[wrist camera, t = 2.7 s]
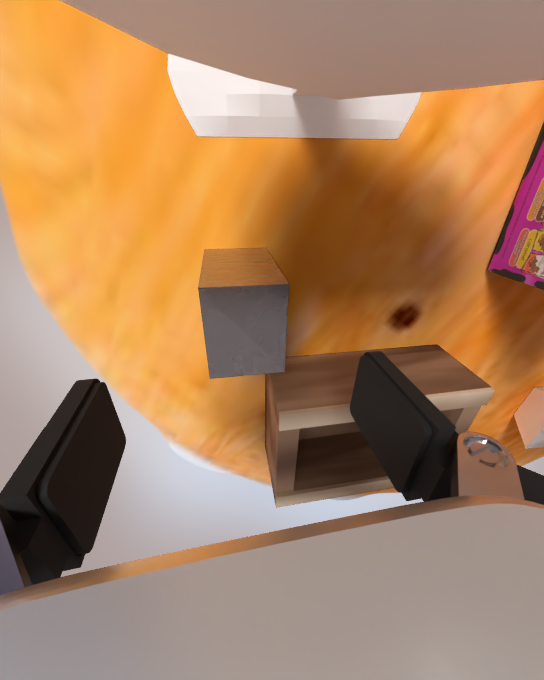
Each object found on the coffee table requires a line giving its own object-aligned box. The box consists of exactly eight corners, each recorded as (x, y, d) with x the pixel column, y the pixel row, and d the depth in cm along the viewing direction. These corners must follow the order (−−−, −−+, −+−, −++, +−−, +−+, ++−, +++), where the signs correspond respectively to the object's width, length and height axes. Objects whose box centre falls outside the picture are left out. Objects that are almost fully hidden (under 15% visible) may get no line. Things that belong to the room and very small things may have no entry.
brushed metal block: (204, 249, 18) (198, 287, 12) (265, 247, 18) (289, 283, 12) (211, 318, 20) (210, 378, 14) (265, 315, 21) (284, 371, 15)
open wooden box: (265, 358, 23) (280, 415, 18) (437, 344, 25) (495, 390, 20) (265, 445, 29) (276, 507, 23) (405, 426, 31) (443, 479, 26)
